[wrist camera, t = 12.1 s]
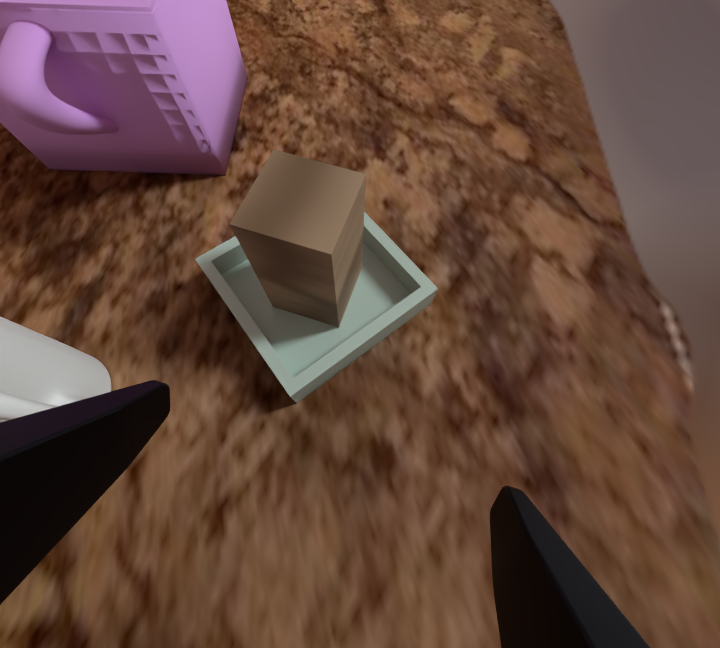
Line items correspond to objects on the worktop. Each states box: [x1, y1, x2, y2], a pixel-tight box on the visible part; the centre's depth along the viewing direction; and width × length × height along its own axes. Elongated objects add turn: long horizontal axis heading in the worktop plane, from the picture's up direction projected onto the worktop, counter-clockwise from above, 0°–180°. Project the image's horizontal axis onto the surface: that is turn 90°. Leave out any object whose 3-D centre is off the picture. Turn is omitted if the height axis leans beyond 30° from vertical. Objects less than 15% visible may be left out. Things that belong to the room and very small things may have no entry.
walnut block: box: [230, 150, 366, 327], centre depth 20 cm, size 5×5×9 cm
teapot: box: [0, 0, 248, 175], centre depth 25 cm, size 15×25×14 cm, turn 179°
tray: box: [195, 212, 438, 403], centre depth 24 cm, size 12×12×2 cm
